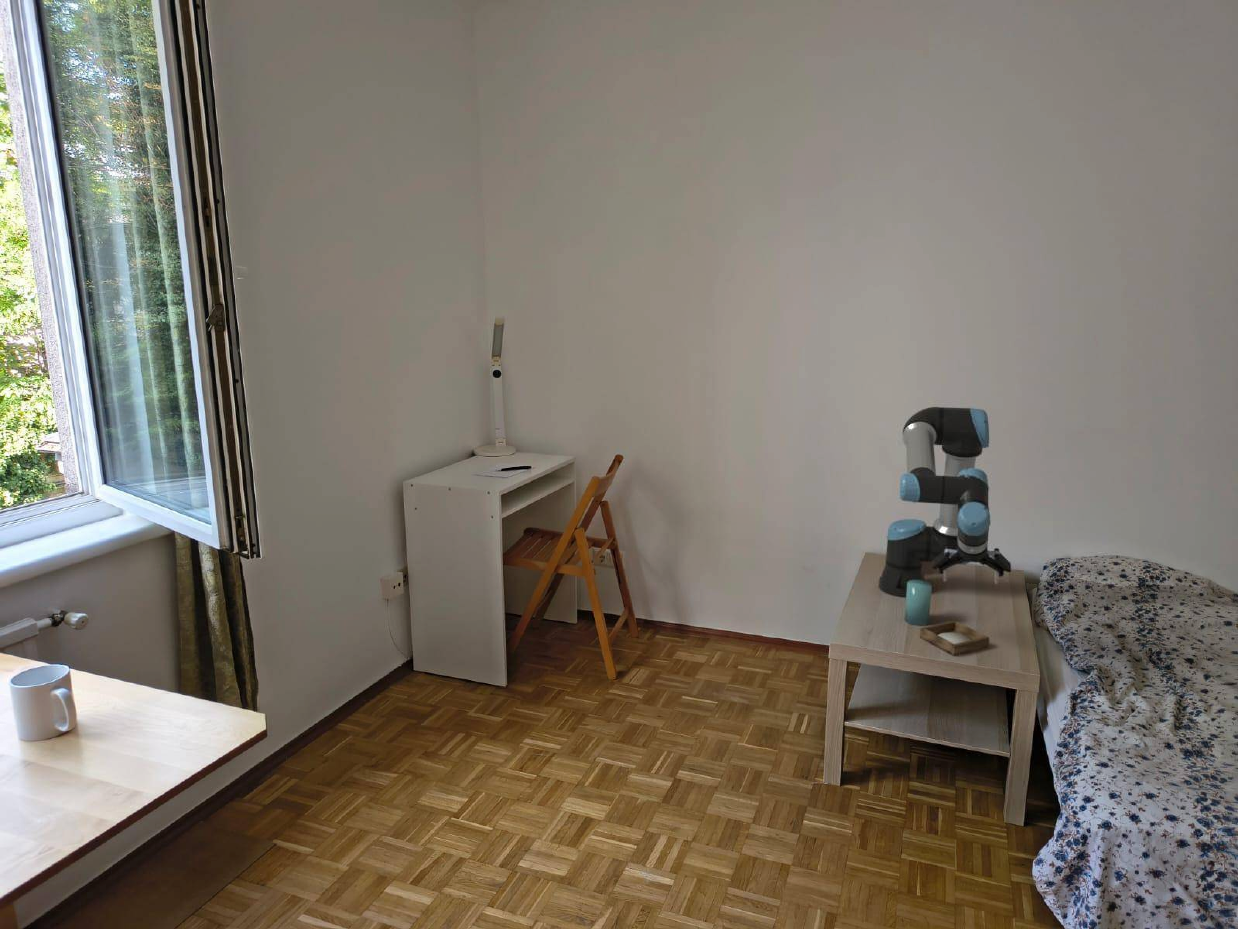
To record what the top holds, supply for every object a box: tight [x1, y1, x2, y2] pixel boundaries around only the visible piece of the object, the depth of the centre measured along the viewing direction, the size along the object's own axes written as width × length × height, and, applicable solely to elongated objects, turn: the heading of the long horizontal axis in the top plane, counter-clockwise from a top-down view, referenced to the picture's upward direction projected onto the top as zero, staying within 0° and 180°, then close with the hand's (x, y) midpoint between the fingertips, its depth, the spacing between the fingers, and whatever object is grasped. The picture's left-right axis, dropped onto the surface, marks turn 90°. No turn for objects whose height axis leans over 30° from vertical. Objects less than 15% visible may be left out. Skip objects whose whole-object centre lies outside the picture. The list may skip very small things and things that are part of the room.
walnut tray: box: [919, 620, 990, 657], centre depth 244 cm, size 13×13×3 cm
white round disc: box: [938, 633, 970, 644], centre depth 244 cm, size 9×9×1 cm
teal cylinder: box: [904, 580, 933, 627], centre depth 257 cm, size 7×7×12 cm
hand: (970, 578), depth 243 cm, fingers open, 13 cm apart
